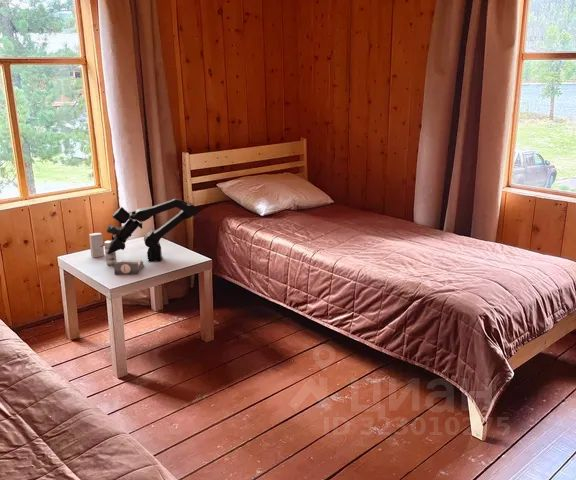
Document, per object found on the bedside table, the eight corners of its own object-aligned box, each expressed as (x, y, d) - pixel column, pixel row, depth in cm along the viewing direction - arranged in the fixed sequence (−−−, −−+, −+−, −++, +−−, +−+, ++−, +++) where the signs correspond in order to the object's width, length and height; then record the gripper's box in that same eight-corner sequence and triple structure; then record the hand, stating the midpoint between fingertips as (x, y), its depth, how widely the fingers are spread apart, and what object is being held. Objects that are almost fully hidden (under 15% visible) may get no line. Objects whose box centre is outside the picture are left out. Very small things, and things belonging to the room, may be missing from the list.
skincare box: (93, 257, 293) (90, 235, 289) (90, 255, 297) (88, 233, 293) (104, 255, 296) (102, 234, 293) (102, 253, 300) (100, 232, 296)
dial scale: (143, 265, 282) (142, 254, 280) (137, 274, 269) (136, 263, 267) (121, 265, 281) (120, 255, 280) (114, 275, 268) (113, 264, 267)
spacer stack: (117, 262, 286) (115, 240, 282) (115, 265, 281) (113, 243, 278) (108, 262, 286) (105, 240, 282) (105, 265, 281) (103, 243, 277)
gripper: (114, 214, 286) (94, 237, 286) (116, 224, 269) (94, 248, 269) (131, 228, 291) (112, 250, 291) (134, 238, 274) (113, 261, 274)
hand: (107, 252), depth 281 cm, fingers closed on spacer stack, 5 cm apart
